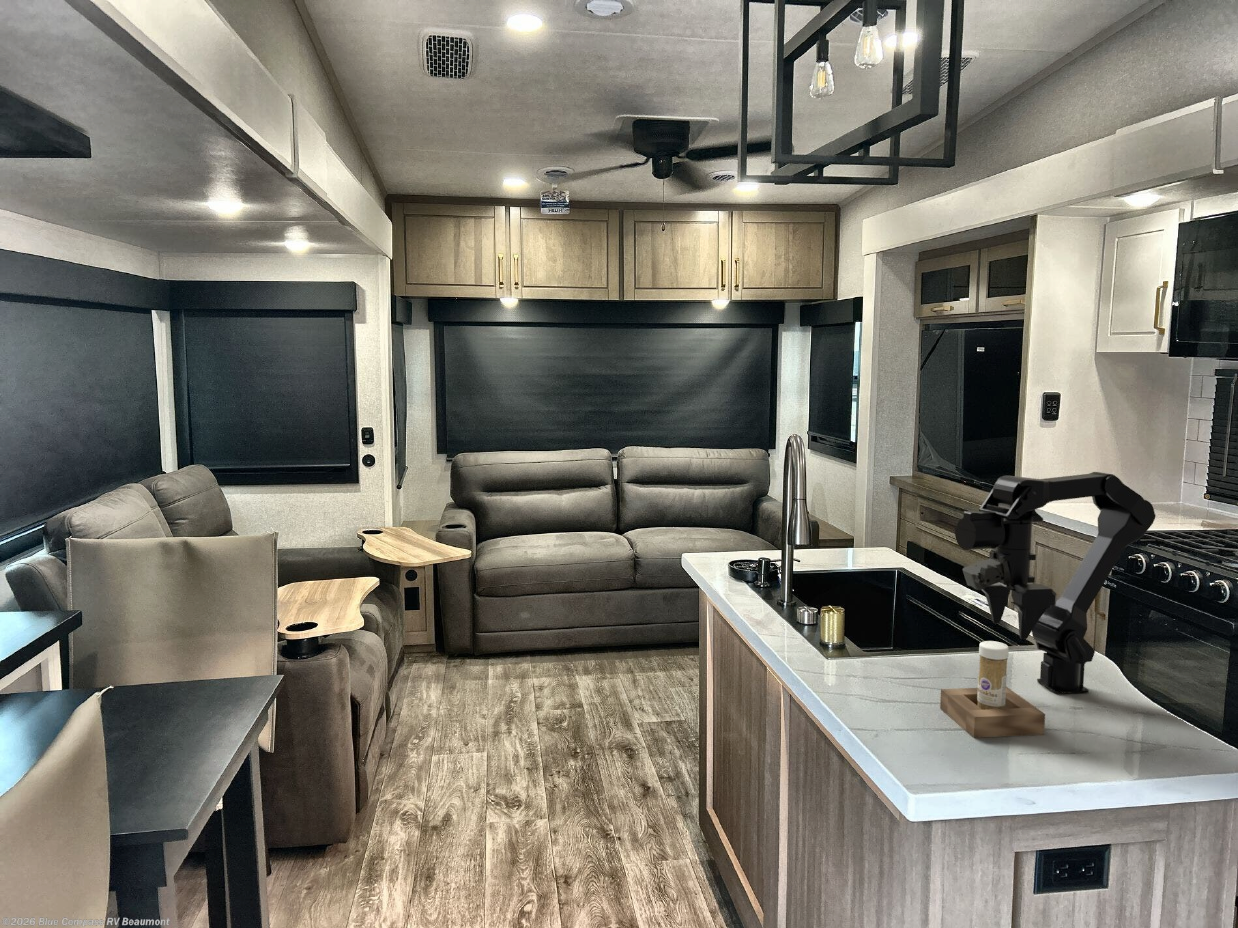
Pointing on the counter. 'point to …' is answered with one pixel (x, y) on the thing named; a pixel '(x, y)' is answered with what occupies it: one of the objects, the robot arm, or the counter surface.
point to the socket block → (992, 714)
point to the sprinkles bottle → (992, 675)
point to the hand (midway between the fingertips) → (1009, 630)
